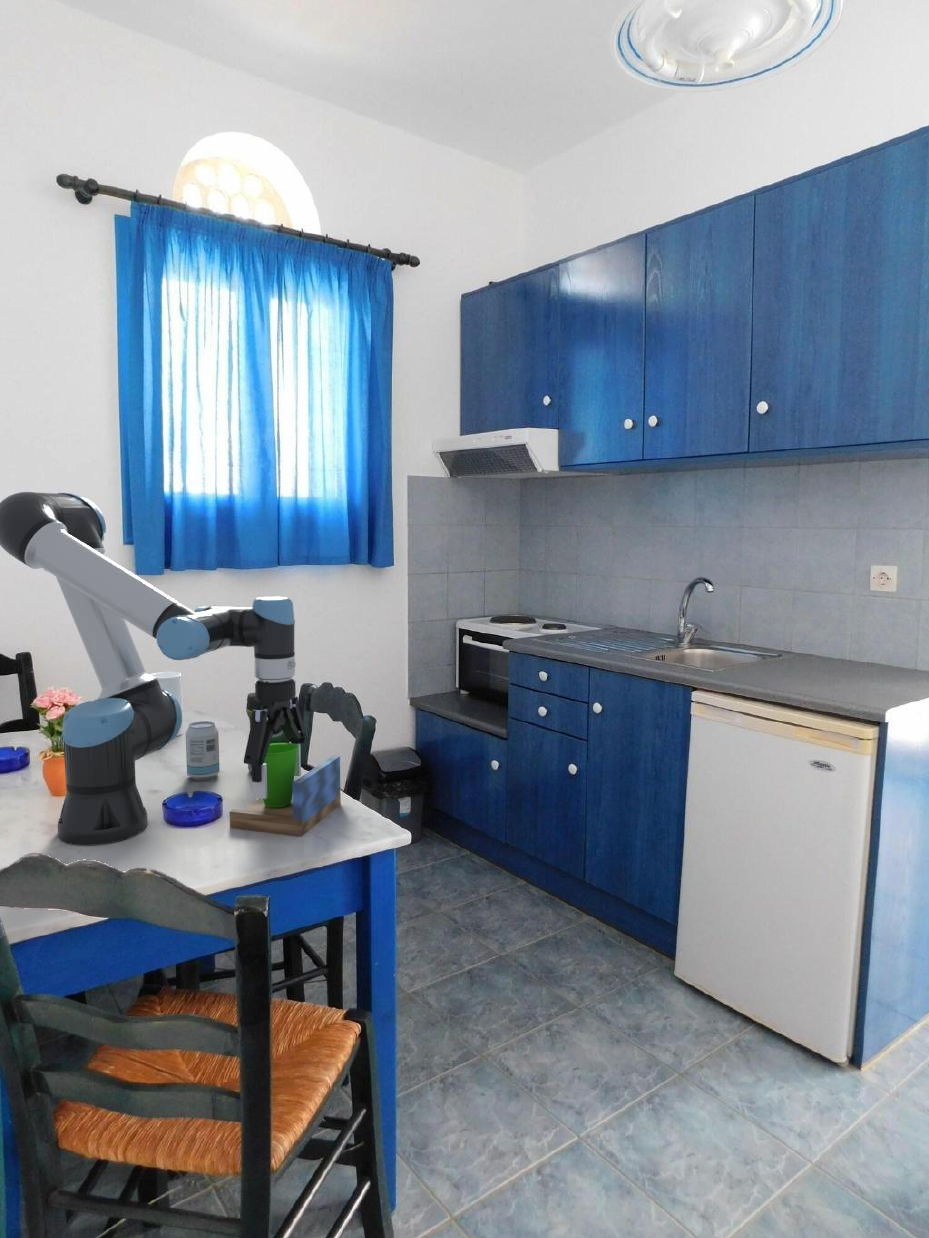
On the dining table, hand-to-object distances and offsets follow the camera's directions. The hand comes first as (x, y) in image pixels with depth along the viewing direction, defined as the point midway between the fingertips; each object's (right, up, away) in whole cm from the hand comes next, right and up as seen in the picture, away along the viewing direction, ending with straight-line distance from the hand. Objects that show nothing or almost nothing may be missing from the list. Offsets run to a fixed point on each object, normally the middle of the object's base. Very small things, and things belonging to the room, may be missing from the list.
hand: (277, 786), depth 156 cm
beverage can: (-22, -3, +23) cm, 32 cm away
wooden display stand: (+2, -6, 0) cm, 6 cm away
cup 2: (0, -4, 0) cm, 4 cm away
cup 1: (-43, +2, +59) cm, 73 cm away
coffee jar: (-8, -3, +28) cm, 29 cm away
